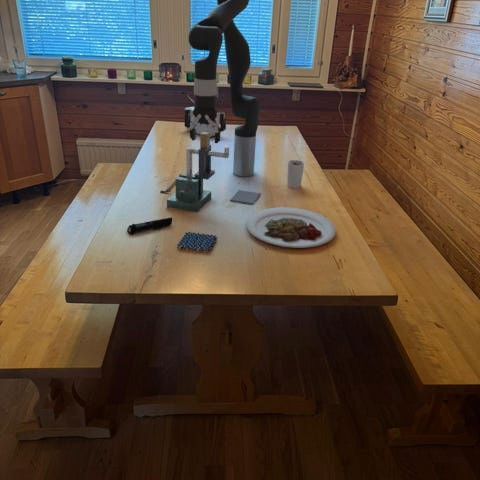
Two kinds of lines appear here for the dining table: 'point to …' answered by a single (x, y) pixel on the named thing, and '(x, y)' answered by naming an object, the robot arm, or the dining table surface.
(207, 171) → the brown and black post
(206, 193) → the vise
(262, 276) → the dining table surface
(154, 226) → the electric trimmer
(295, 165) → the grey cup
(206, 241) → the woven mat
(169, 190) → the tomahawk
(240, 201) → the slate pad
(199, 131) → the stereo radio cassette player
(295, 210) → the plated food
